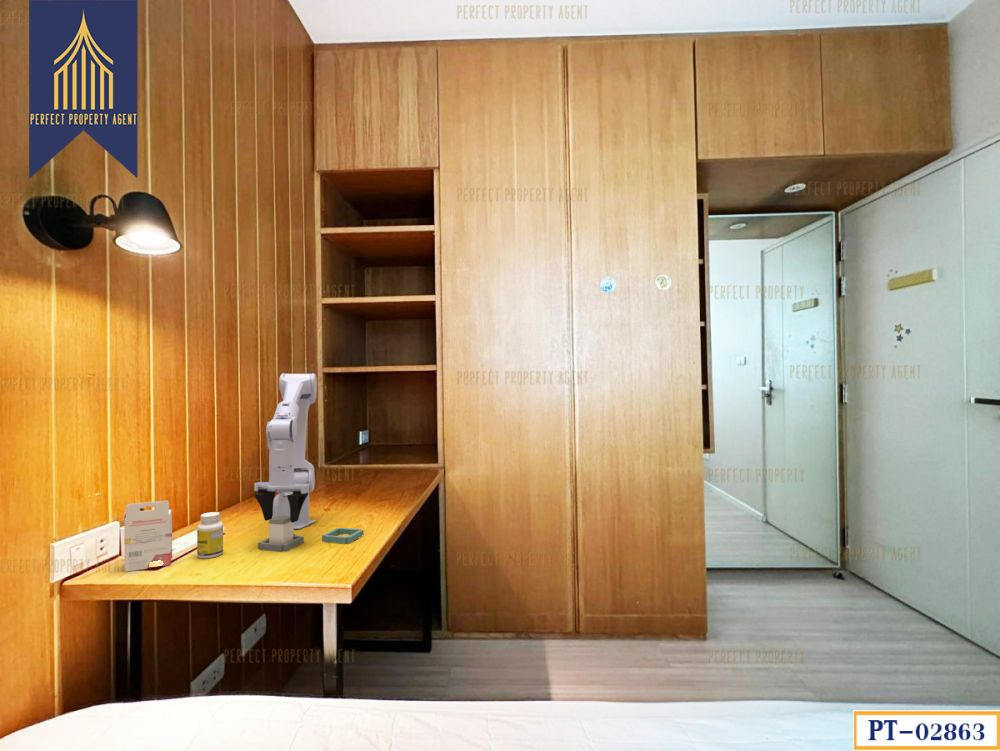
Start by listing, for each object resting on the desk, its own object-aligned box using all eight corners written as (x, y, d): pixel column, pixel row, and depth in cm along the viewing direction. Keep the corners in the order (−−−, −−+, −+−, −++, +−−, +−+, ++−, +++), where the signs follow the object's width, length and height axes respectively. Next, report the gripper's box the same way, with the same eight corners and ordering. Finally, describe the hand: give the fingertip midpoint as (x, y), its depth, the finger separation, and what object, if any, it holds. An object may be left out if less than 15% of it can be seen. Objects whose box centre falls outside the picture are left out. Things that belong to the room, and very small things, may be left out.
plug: (268, 547, 127) (269, 519, 127) (279, 542, 131) (279, 515, 131) (283, 548, 126) (283, 520, 126) (293, 543, 130) (293, 516, 130)
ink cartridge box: (172, 559, 119) (173, 495, 119) (170, 566, 114) (170, 500, 114) (127, 565, 115) (128, 499, 115) (123, 572, 110) (123, 504, 110)
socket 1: (256, 549, 125) (256, 543, 125) (278, 539, 133) (278, 533, 133) (284, 551, 123) (284, 545, 123) (304, 541, 131) (305, 536, 131)
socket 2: (320, 541, 131) (320, 536, 131) (337, 532, 139) (337, 527, 139) (348, 544, 129) (348, 538, 129) (364, 534, 137) (364, 529, 137)
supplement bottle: (192, 556, 121) (192, 514, 121) (216, 549, 125) (216, 510, 125) (204, 560, 118) (204, 518, 118) (227, 554, 122) (227, 513, 122)
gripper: (245, 467, 126) (245, 522, 126) (296, 470, 123) (296, 526, 123) (265, 463, 133) (264, 515, 133) (314, 465, 130) (313, 519, 129)
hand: (281, 520), depth 128 cm, fingers open, 7 cm apart
